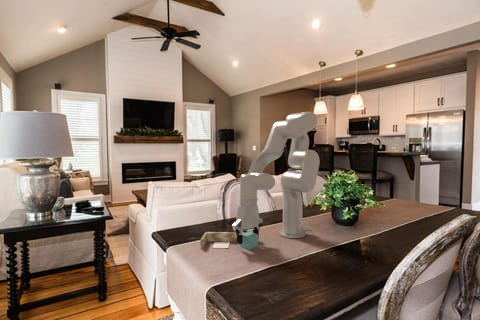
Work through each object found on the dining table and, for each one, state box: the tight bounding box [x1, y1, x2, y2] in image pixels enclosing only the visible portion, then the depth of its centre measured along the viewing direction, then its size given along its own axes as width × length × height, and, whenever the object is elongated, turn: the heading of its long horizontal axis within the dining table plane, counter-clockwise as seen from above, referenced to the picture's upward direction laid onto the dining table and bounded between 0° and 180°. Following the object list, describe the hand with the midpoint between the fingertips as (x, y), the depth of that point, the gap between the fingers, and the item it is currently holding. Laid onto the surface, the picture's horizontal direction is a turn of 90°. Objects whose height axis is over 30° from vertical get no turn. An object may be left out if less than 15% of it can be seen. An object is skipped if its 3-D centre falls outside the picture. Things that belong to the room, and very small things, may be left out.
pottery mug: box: [226, 216, 248, 233], centre depth 143 cm, size 12×10×8 cm
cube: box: [239, 231, 259, 250], centre depth 121 cm, size 6×6×6 cm
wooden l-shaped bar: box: [200, 231, 245, 250], centre depth 123 cm, size 25×10×4 cm, turn 86°
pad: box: [211, 241, 231, 249], centre depth 123 cm, size 7×7×1 cm
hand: (247, 240), depth 121 cm, fingers open, 9 cm apart
